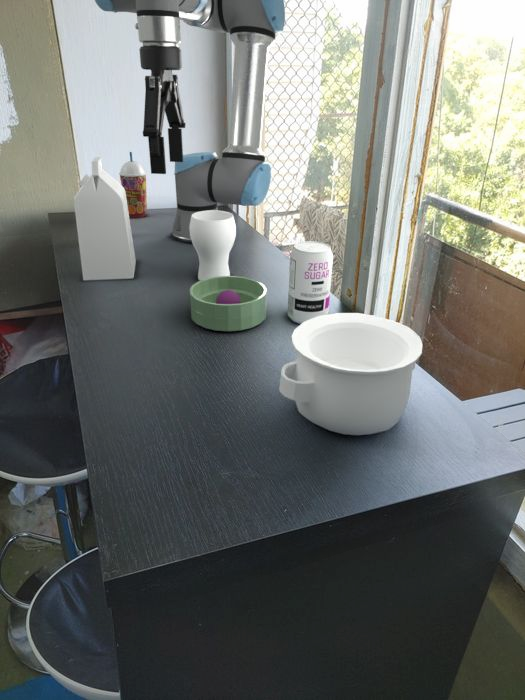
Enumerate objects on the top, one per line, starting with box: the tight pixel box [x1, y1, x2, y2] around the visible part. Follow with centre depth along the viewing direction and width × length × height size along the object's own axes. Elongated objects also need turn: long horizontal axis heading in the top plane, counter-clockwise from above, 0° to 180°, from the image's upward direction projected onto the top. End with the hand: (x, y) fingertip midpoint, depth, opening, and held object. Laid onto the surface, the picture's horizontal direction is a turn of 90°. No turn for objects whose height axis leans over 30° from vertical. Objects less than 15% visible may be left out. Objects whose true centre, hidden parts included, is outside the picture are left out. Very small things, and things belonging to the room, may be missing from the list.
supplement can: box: [287, 240, 334, 325], centre depth 103 cm, size 8×8×15 cm
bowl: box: [188, 275, 268, 332], centre depth 105 cm, size 15×15×6 cm
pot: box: [278, 312, 424, 436], centre depth 75 cm, size 22×17×12 cm
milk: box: [73, 156, 137, 281], centre depth 122 cm, size 12×12×26 cm
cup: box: [189, 210, 237, 281], centre depth 122 cm, size 11×11×15 cm
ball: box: [216, 290, 241, 304], centre depth 105 cm, size 5×5×5 cm
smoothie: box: [119, 151, 148, 219], centre depth 169 cm, size 8×8×20 cm
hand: (168, 167), depth 105 cm, fingers open, 13 cm apart
